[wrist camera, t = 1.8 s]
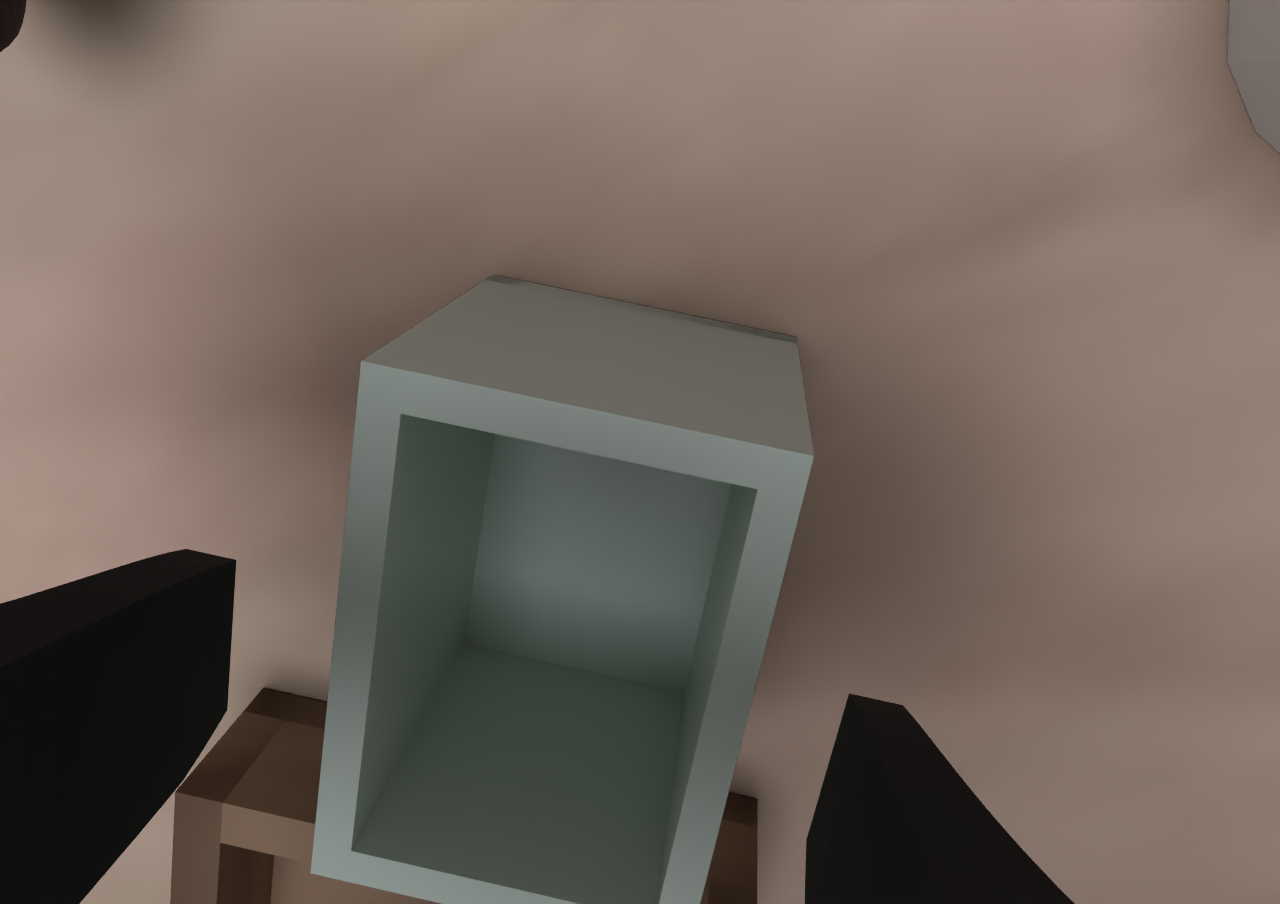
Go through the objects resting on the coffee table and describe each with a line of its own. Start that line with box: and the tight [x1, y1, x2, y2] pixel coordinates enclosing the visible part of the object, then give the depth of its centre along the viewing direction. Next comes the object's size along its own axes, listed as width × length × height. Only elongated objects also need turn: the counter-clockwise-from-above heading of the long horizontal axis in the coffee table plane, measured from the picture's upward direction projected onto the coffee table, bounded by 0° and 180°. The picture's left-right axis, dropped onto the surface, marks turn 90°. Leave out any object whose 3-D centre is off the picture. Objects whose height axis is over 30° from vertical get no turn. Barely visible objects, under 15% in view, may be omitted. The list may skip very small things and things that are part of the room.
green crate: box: [311, 275, 814, 904], centre depth 15 cm, size 5×7×6 cm
